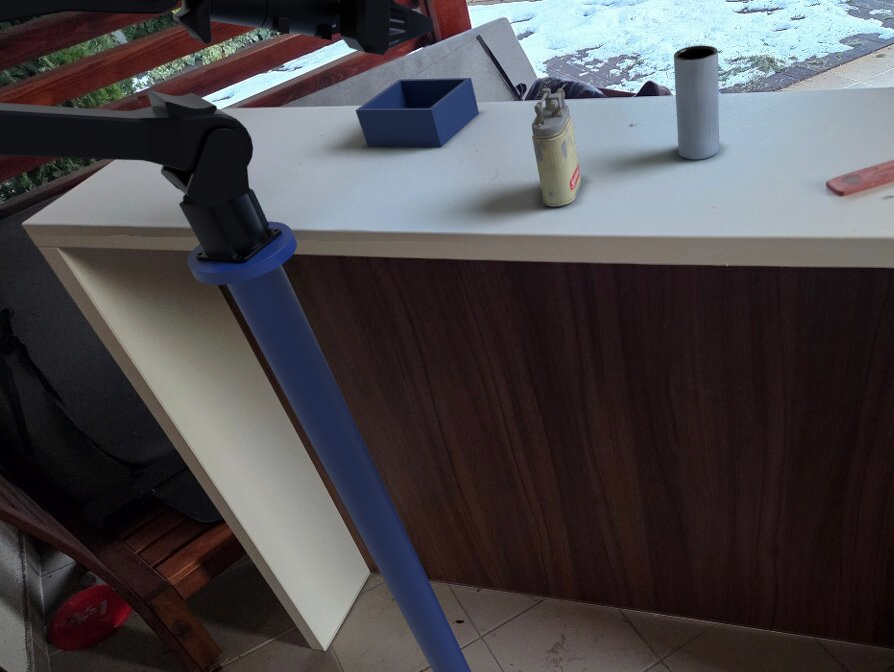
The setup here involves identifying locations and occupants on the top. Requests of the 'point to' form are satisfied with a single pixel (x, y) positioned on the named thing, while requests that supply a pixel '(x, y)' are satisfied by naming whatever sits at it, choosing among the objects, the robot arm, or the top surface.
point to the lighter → (555, 150)
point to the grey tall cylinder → (697, 101)
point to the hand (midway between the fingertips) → (409, 20)
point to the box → (418, 112)
